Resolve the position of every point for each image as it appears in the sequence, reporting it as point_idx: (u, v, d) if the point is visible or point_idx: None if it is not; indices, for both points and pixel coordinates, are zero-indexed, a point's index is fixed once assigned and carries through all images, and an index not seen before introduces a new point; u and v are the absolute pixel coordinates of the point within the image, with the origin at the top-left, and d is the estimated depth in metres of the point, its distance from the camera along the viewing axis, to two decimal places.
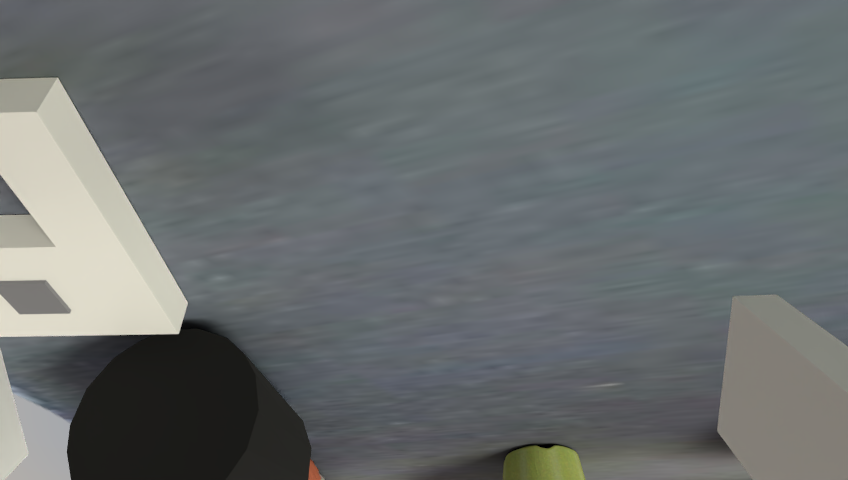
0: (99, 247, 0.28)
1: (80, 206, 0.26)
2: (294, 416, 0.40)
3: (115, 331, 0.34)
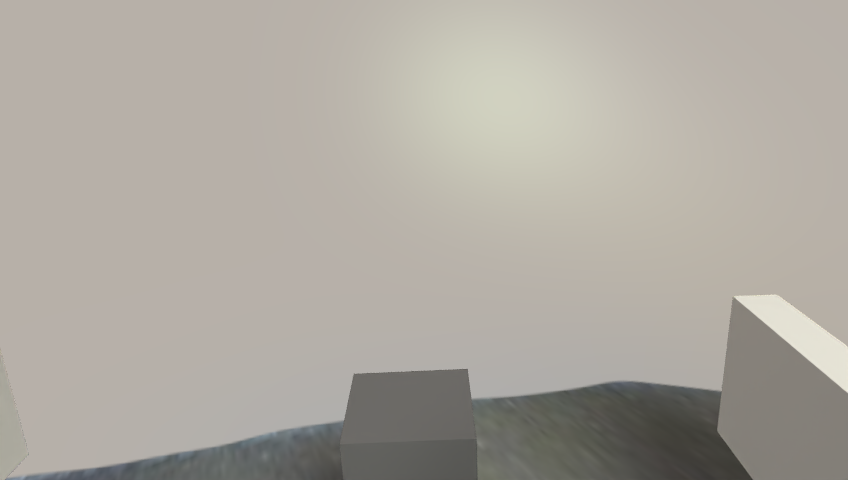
0: None
1: None
2: None
3: None
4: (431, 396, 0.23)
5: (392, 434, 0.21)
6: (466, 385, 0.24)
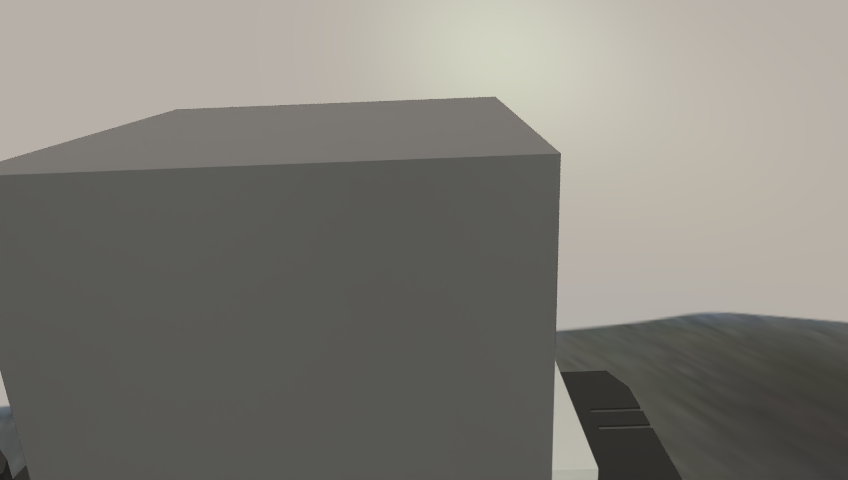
0: None
1: None
2: None
3: None
4: (382, 118, 0.07)
5: (201, 158, 0.05)
6: (496, 106, 0.08)
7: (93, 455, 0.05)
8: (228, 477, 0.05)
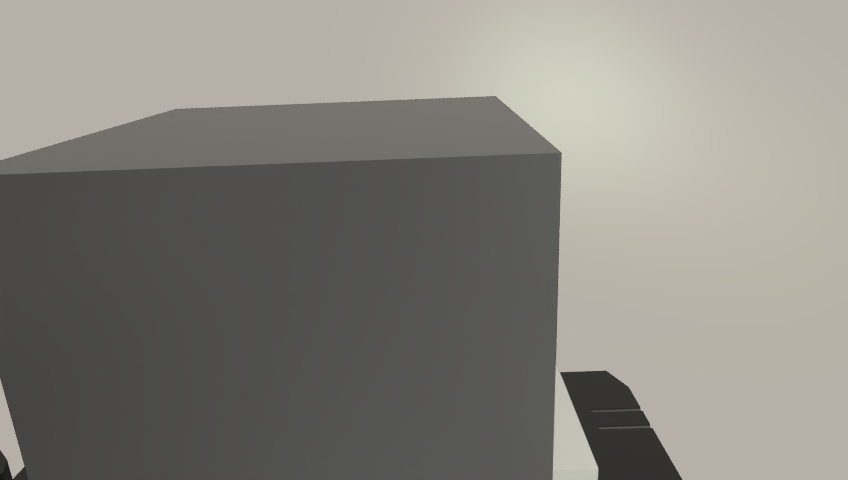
0: None
1: None
2: None
3: None
4: (381, 116, 0.07)
5: (198, 156, 0.05)
6: (496, 106, 0.08)
7: (91, 456, 0.05)
8: (227, 478, 0.05)
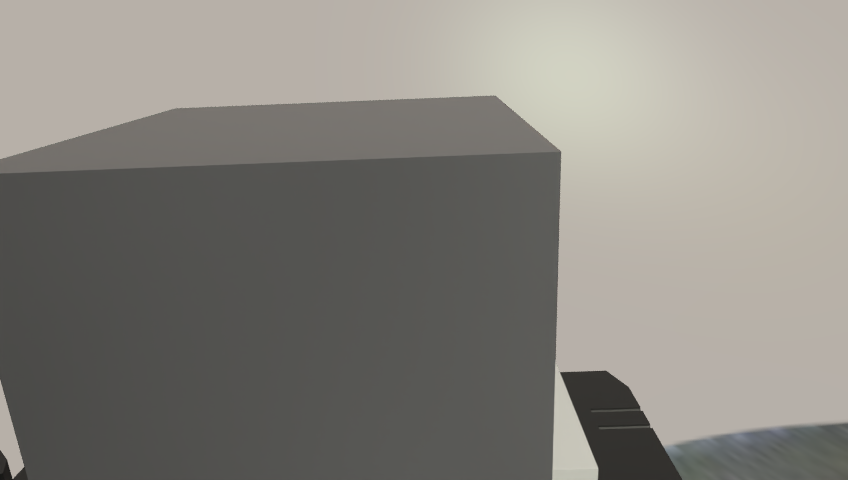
0: None
1: None
2: None
3: None
4: (381, 115, 0.07)
5: (198, 156, 0.05)
6: (495, 105, 0.08)
7: (89, 457, 0.05)
8: (225, 477, 0.05)
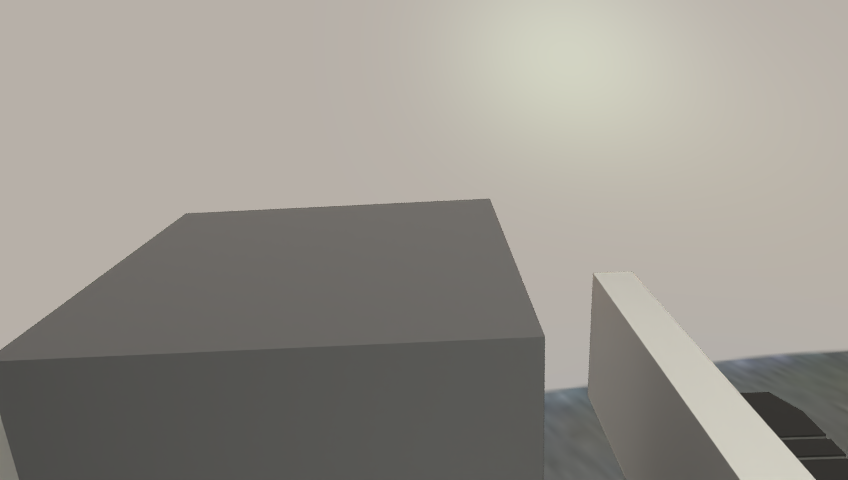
0: None
1: None
2: None
3: None
4: (382, 242, 0.08)
5: (214, 329, 0.05)
6: (490, 222, 0.08)
7: None
8: None
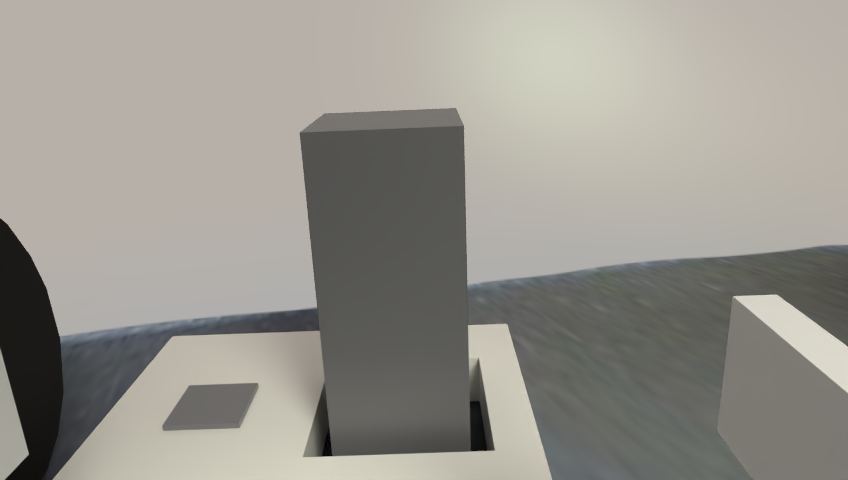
0: None
1: None
2: None
3: (81, 459, 0.20)
4: (411, 116, 0.20)
5: (364, 127, 0.18)
6: (454, 112, 0.20)
7: (328, 217, 0.18)
8: (368, 224, 0.18)
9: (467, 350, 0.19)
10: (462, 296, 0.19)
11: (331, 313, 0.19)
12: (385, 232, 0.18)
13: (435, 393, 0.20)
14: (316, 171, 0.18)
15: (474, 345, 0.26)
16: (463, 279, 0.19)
